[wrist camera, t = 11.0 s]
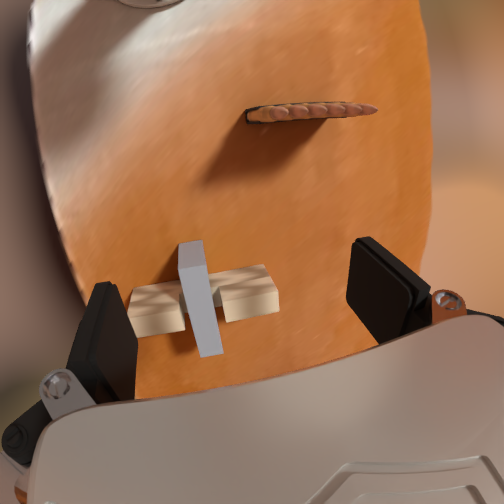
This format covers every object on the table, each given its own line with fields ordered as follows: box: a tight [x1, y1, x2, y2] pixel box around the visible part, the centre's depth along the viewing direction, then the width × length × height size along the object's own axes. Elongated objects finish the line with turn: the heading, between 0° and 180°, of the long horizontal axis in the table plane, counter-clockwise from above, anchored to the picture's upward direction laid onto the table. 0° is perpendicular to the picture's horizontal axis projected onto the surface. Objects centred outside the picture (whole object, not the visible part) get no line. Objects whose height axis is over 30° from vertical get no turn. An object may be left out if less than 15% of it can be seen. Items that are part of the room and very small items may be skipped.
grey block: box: [178, 240, 223, 357], centre depth 36 cm, size 13×3×7 cm, turn 5°
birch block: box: [127, 264, 279, 338], centre depth 36 cm, size 18×3×7 cm, turn 96°
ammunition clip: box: [245, 102, 378, 124], centre depth 27 cm, size 11×2×12 cm, turn 97°
